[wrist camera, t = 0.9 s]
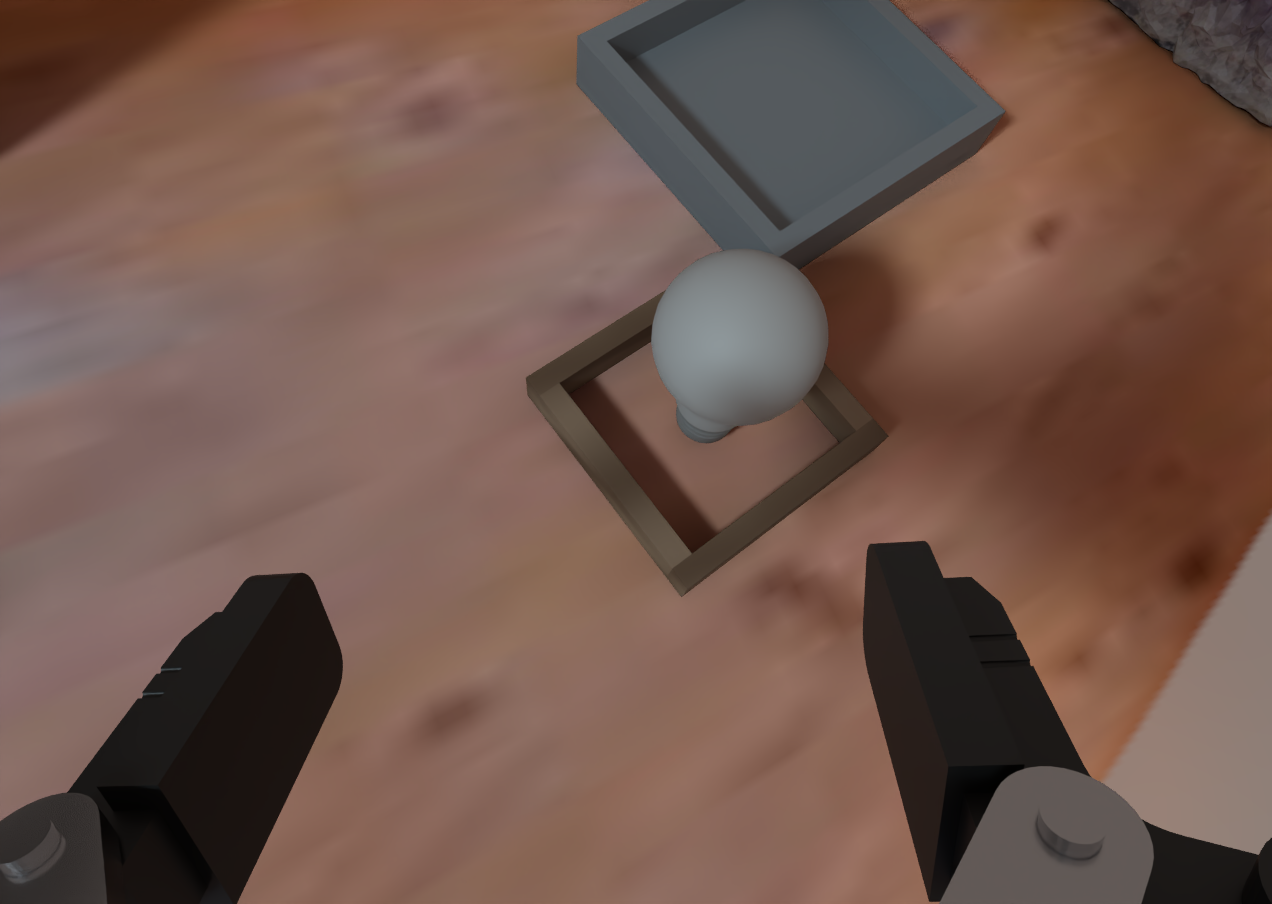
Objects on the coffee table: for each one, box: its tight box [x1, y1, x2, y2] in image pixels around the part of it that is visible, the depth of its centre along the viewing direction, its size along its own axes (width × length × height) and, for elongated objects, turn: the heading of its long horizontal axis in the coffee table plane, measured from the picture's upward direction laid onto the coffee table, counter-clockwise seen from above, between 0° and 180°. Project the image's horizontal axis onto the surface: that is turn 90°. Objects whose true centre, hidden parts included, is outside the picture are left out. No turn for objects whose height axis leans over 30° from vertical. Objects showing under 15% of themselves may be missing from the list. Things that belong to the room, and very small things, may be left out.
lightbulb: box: [651, 249, 828, 443], centre depth 30 cm, size 6×6×11 cm
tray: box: [577, 0, 1006, 270], centre depth 40 cm, size 15×15×3 cm
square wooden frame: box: [526, 290, 888, 597], centre depth 34 cm, size 11×11×2 cm
